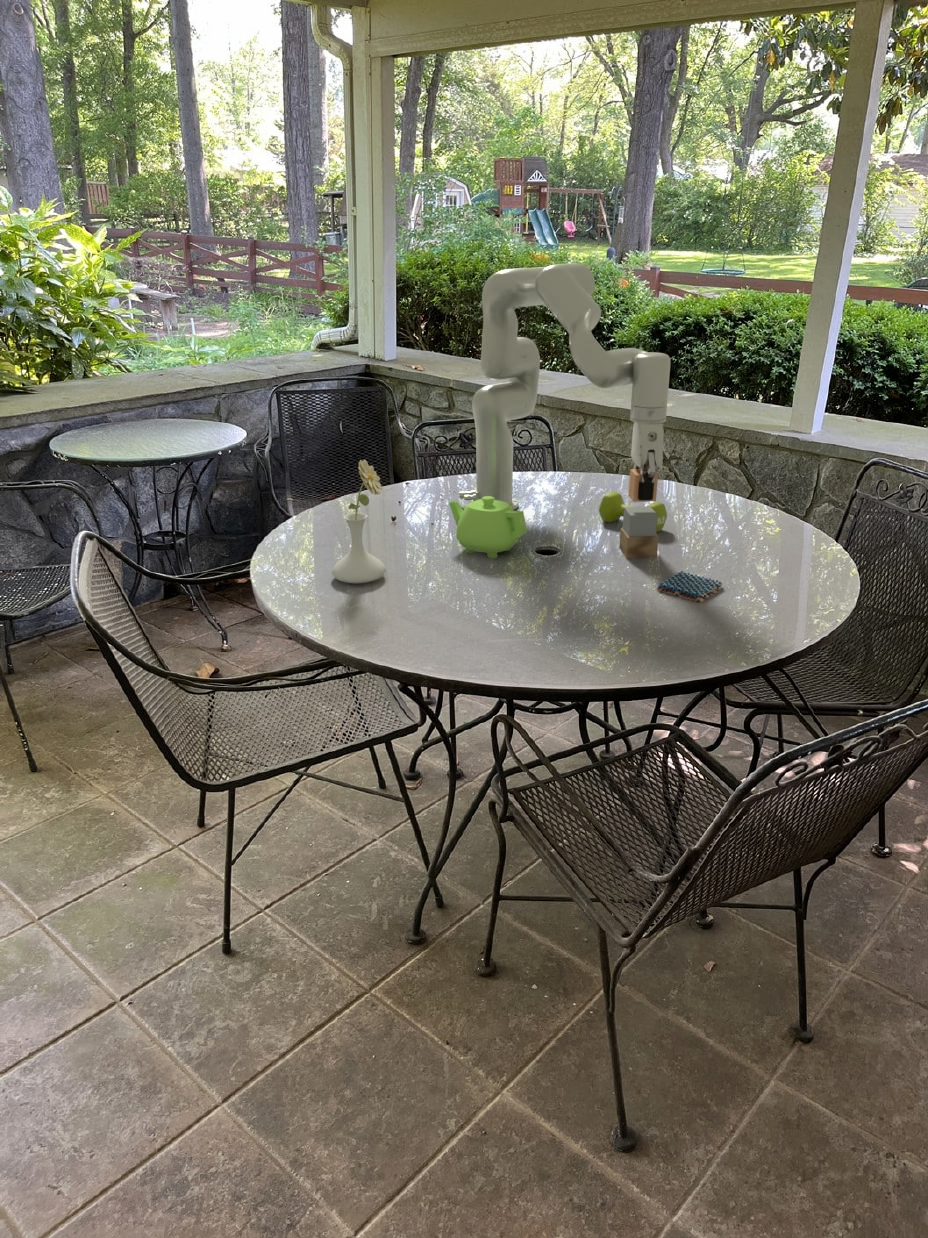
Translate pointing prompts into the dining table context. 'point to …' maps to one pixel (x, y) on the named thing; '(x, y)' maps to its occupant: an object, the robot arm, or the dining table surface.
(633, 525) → the tower top
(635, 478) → the terracotta block
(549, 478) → the dining table surface
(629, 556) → the tower base
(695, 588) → the woven mat
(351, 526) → the flower in vase
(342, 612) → the dining table surface
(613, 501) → the dumbbell
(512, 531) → the teapot
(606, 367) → the robot arm
